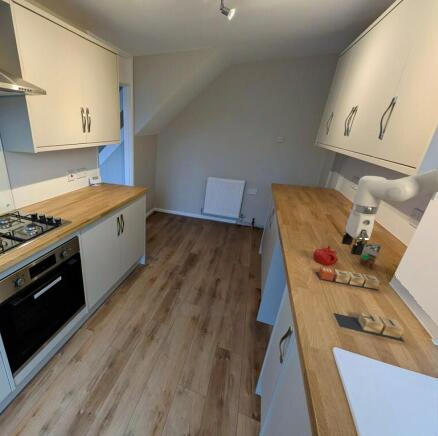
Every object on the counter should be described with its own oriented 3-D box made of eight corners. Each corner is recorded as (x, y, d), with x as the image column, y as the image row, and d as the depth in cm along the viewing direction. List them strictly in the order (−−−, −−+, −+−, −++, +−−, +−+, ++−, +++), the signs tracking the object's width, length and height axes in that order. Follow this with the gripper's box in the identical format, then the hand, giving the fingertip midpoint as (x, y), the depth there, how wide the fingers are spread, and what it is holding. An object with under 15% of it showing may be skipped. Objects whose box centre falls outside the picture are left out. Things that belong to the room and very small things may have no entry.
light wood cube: (371, 283, 102) (374, 275, 101) (376, 289, 99) (379, 281, 97) (359, 280, 104) (362, 273, 103) (363, 286, 100) (366, 279, 99)
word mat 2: (392, 327, 80) (393, 326, 80) (404, 343, 74) (405, 342, 74) (332, 314, 86) (333, 312, 85) (339, 328, 80) (339, 326, 79)
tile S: (329, 275, 108) (331, 268, 106) (332, 280, 104) (335, 273, 102) (318, 273, 109) (320, 266, 108) (320, 278, 105) (323, 271, 104)
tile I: (392, 328, 79) (396, 319, 78) (399, 338, 75) (404, 329, 74) (375, 324, 80) (379, 315, 79) (382, 334, 76) (386, 325, 75)
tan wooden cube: (373, 324, 81) (377, 315, 79) (380, 333, 77) (384, 324, 75) (357, 320, 82) (361, 311, 81) (363, 329, 78) (367, 321, 77)
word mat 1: (370, 282, 104) (371, 281, 103) (378, 292, 98) (379, 291, 97) (314, 272, 111) (315, 271, 110) (319, 281, 105) (319, 279, 104)
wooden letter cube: (357, 280, 104) (360, 273, 103) (362, 286, 100) (364, 278, 99) (345, 278, 106) (348, 271, 104) (349, 284, 102) (352, 276, 100)
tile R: (343, 278, 106) (346, 271, 104) (347, 283, 102) (350, 276, 101) (332, 276, 107) (334, 269, 106) (335, 281, 103) (337, 274, 102)
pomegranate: (307, 259, 122) (311, 243, 119) (320, 256, 125) (325, 240, 122) (326, 269, 113) (332, 252, 110) (340, 265, 117) (346, 248, 114)
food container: (359, 257, 124) (365, 240, 121) (375, 262, 120) (382, 244, 116) (354, 265, 117) (360, 247, 113) (370, 271, 112) (377, 252, 109)
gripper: (388, 217, 81) (372, 260, 87) (365, 204, 96) (353, 242, 102) (361, 214, 84) (347, 257, 90) (343, 202, 99) (332, 239, 105)
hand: (350, 249), depth 96 cm, fingers open, 9 cm apart
